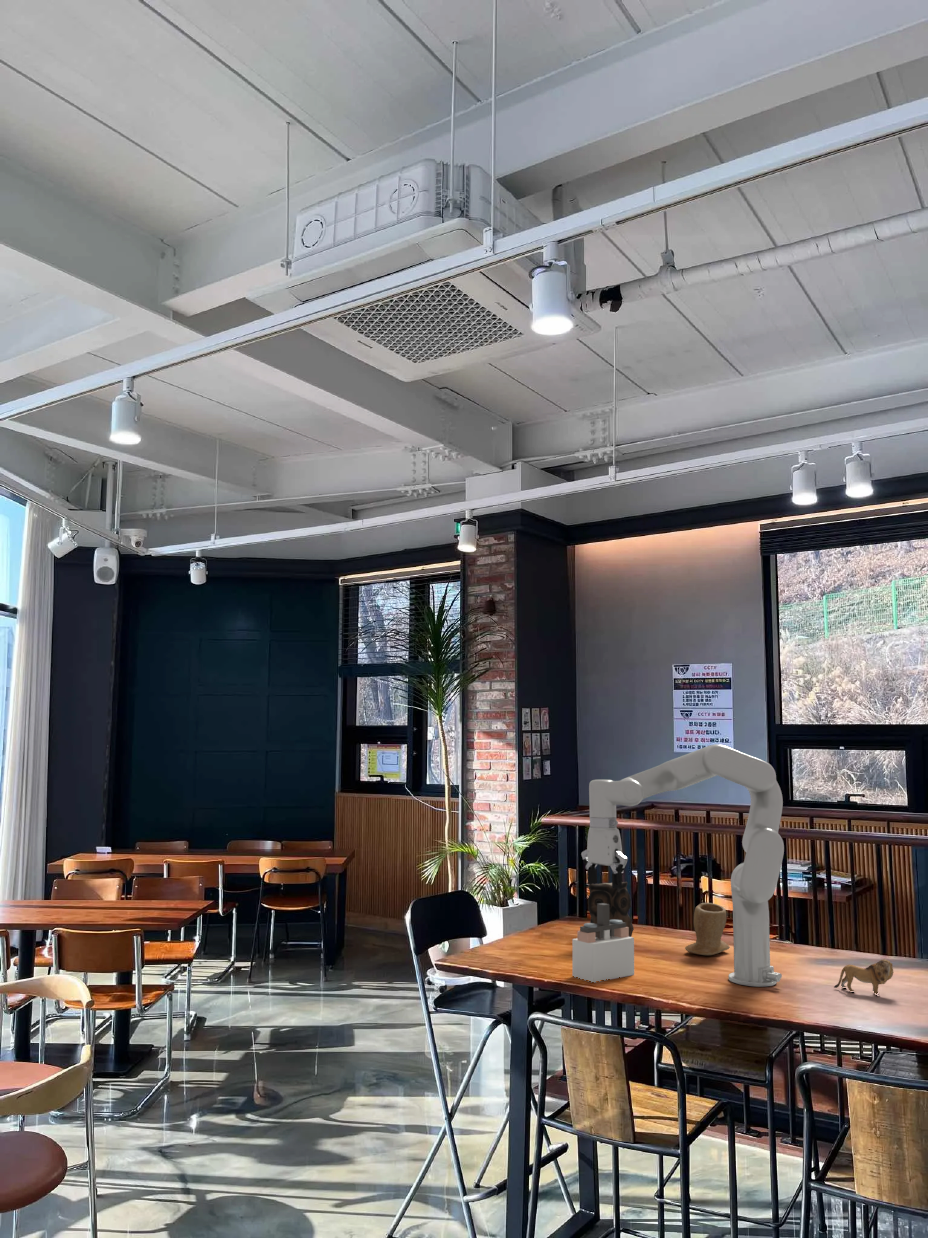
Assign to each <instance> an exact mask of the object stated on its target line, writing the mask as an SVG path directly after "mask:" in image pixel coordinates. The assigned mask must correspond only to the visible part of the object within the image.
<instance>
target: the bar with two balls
mask: <svg viewBox="0 0 928 1238" xmlns="http://www.w3.org/2000/svg"><path fill="white" fill-rule="evenodd" d="M624 927H626V923H625V922H622V920H615V919H614V920H610V922H609V904H605V903H600V904H597V924H594V923H590V922H586V923H583V926H579V931H582V932H586V933H591V932H595V937H596V938H600V939H601V938H603V931H604V930H610V937H614V929H618V928H624Z"/></svg>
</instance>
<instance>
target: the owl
mask: <svg viewBox="0 0 928 1238" xmlns="http://www.w3.org/2000/svg"><path fill="white" fill-rule="evenodd" d="M627 886H628V882H627V881H622V887H621V888H613V887H612V882H603V883H595V884H588V890H589V891H588V892H589V895H588V897H587V910H588V912H589V914H590V915H589V916H590V921H589V923H594V924H597V904H600V903H605V904H609V922H610V920H614V919H615V920H622V922H625V923H626V927H629V937H633V931H634V930H635V928H634V925H633V924H632V923H633V919H632V918H631V916H630V915H629V910H630V909H631V907H632V899H631V894H630V893H629V891H628V888H627Z"/></svg>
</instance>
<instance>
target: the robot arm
mask: <svg viewBox="0 0 928 1238" xmlns="http://www.w3.org/2000/svg"><path fill="white" fill-rule="evenodd" d="M776 774H777V773H776V770H775V769H774V767H773V766H772V764H770V763H769V762H767V761H764V760H763V759H760V758H758V757H755V756H752V755H749V754H747V753H744V752H741V751H739V750H736V749H734V748H731V747H730V746H727V745H723V744H715V743H714V744H709V745H707V746H705V747H701V748H699V749H697V750H694V751H691V752H689V753H686V754H683V755H681V756H679V757H675V758H673V759H670V760H667V761H665V762H662V763H661V764H659V765H656V766H653V767H651V768H648V769H646V770H643V771H640V772H637V773H634V774H632V775H629V776H627V777H625V778H622V779H620V780H612V779H593V780H591V781H590V782H589V784H588V785H589V786H588V791H589V792H588V795H589V796H588V797H589V800H588V801H589V829H588V831H587V832H588V834H587V841H586V842H587V844H586V845H587V847H586V848H587V849H585V850H583V851H582V852H581V854H580V855H581V857H582V860H583V861H582V863H583V864H584V865H585V869H586V870H587V871H586V872H587V873H586V874H587V884H588V885H590V884H598V868H597V866H598V865H599V866H608V867H609V866H610V868H611V870H612V873H611V883H612V887H613V888H621V887H622V882H623V881H622V880H623V878H622V877H623V873H624V870H625V868H626V867H627V863H628V860H629V858H628V857H627V856H626V855H624V854H623V846H622V839H621V833H620V830H619V828H617V827H618V825H619V823H618V820H617V806H623V807H624V806H625V807H633V806H638V805H639V804H640V803H641V802H642V801H643V800H644V799H647V798H649V797H652V796H655V795H659V794H662V793H666V792H672V791H679V790H682V789H686V788H688V787H690V786H693V785H697V784H698V783H701V782H703V781H705V780H709V779H711V778H714V777H717V776H718V777H721V778H723V779H724V780H728V781H730V782H732V783H735V784H737V785H739V786H742V787H745V788H746V789H747V791H748V793H749V795H750V807H749V811H748V817H747V821H746V826H745V829H744V832H743V835H742V839H741V840H742V841H741V843H742V844H741V845H742V848H743V850H744V852H745V856H744V859H743V860H744V861H743V862H741V863H740V864H738V865H737V866H736V867H735V868H734V869H733V871H732V872H731V875H730V876H731V877H730V889H731V899H732V901H731V902H732V920H733V921H732V927H733V928H732V931H733V934H732V935H733V938H732V939H733V972H731V973H729V974H728V980H729V981H730V982H731V983H735V984H737V985H742V986H747V987H754V988H755V987H757V988H758V987H760V988H762V987H763V988H764V987H766V988H767V987H772V986H775V985H776V984H777V983H780V981H781V979H782V977H783V976H782V975H783V974H782V973H780V972H775V968H774V966H773V965H771V950H770V949H771V945H770V939H771V938H770V911H769V908H770V907H769V901H770V899H771V898H772V897H773V895H774V893H775V892H776V889H777V885H778V881H779V876H780V873H781V867H782V864H783V859H784V854H785V853H784V852H785V845H784V840H783V838H782V837H781V835H780V834H779V829H780V824H781V819H782V813H783V805H784V804H783V803H784V801H783V794H782V793H783V792H782V790H781V787H780V785H779V783H778V781H777V775H776Z"/></svg>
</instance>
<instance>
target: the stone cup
mask: <svg viewBox="0 0 928 1238" xmlns="http://www.w3.org/2000/svg"><path fill="white" fill-rule="evenodd" d="M726 924H727V911H726V908H725V907H724V906H721V905H719V904H717V903H713V902H702V903H699V904H698V905H697V906H696V907H695V909H694V914H693V928H694V931H695V936H696V937H695V938H696V939H695V942H693V943H690V944H688V945H686V946H685V947H684V950H685V951H687V952H689V953H691V954H695V955H701V956H713V955H716V954H719V953H722V952H725V951H727V950H729V949H730V945H728V943H726V942H725V941H724V940H722V936H723V932H724V929H725V927H726Z"/></svg>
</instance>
